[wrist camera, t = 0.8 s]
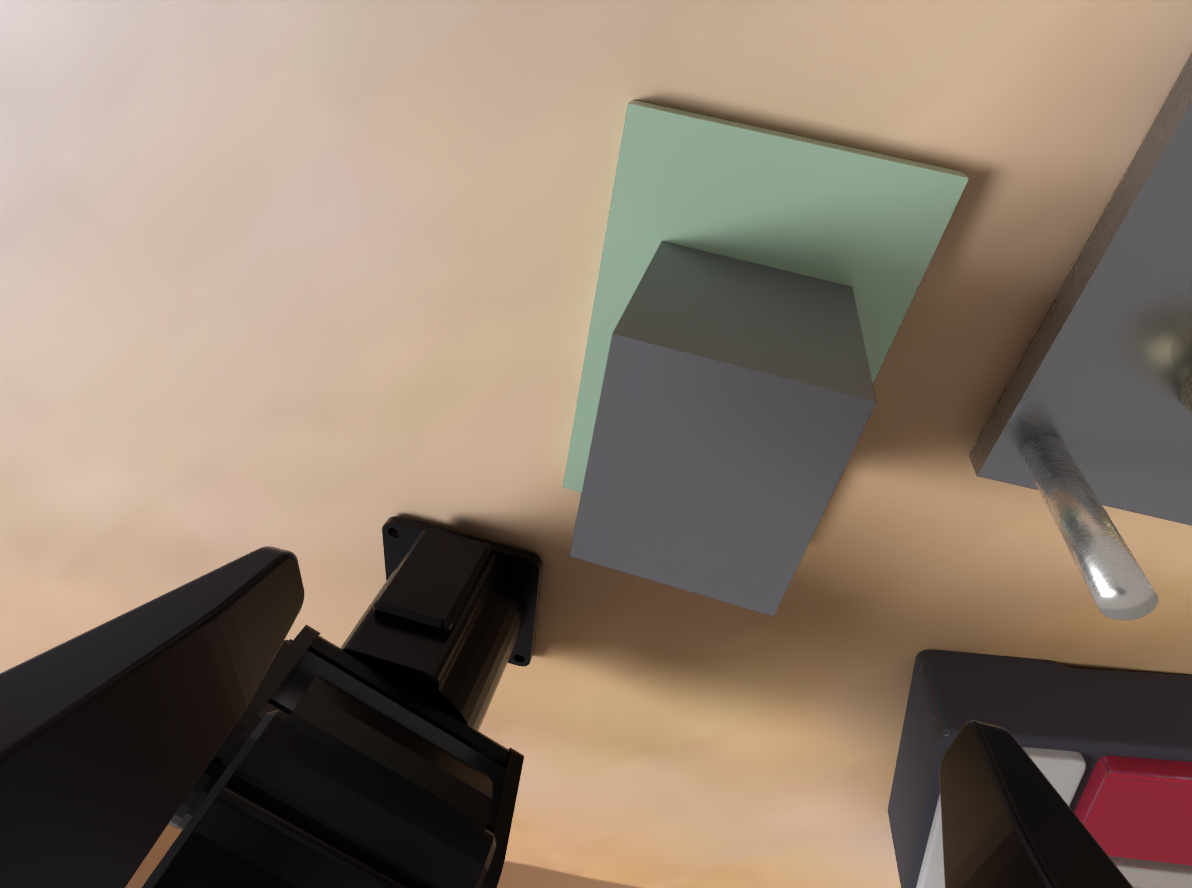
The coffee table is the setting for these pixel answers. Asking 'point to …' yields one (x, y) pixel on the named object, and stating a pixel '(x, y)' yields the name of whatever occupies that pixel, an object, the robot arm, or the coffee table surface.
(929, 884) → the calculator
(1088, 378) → the chassis
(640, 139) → the board
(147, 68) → the coffee table surface
